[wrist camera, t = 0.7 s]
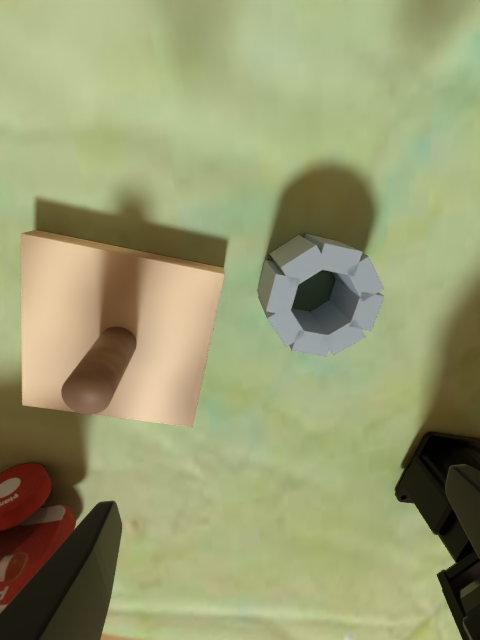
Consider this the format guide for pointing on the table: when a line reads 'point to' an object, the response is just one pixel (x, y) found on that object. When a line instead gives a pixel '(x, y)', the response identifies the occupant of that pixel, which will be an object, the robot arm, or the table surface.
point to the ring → (334, 315)
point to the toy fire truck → (27, 527)
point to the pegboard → (114, 329)
